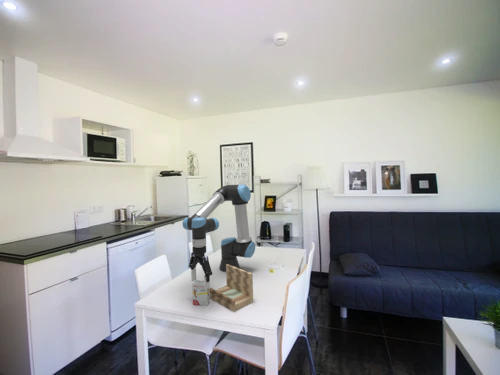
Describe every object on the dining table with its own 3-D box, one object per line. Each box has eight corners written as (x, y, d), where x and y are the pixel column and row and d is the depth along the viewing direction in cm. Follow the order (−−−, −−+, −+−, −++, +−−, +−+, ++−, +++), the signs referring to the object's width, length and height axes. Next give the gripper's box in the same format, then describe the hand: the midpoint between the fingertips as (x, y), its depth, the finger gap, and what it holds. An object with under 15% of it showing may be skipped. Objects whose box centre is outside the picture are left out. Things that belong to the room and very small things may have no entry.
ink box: (192, 304, 137) (191, 283, 136) (195, 300, 142) (195, 280, 141) (207, 305, 135) (206, 284, 135) (210, 301, 140) (209, 280, 139)
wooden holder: (209, 297, 144) (208, 270, 144) (228, 289, 154) (227, 264, 153) (233, 311, 128) (232, 281, 128) (253, 301, 138) (252, 273, 137)
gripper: (182, 243, 143) (183, 279, 144) (206, 251, 125) (207, 293, 126) (193, 240, 149) (194, 275, 149) (218, 248, 130) (219, 288, 131)
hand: (200, 283), depth 138 cm, fingers open, 13 cm apart
